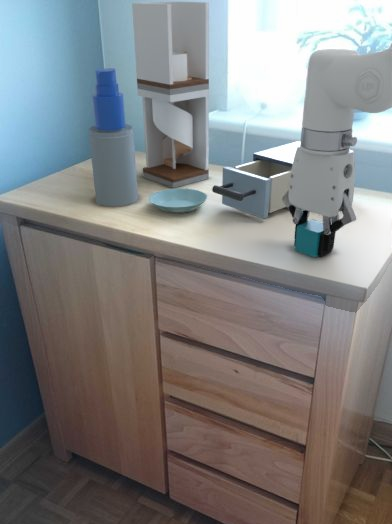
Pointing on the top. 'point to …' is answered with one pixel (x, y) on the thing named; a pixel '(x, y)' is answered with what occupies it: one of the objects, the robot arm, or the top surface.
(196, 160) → the spiral staircase model
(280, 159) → the mini chest of drawers
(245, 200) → the drawer
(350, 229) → the top surface
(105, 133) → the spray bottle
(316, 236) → the cube
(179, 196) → the saucer
